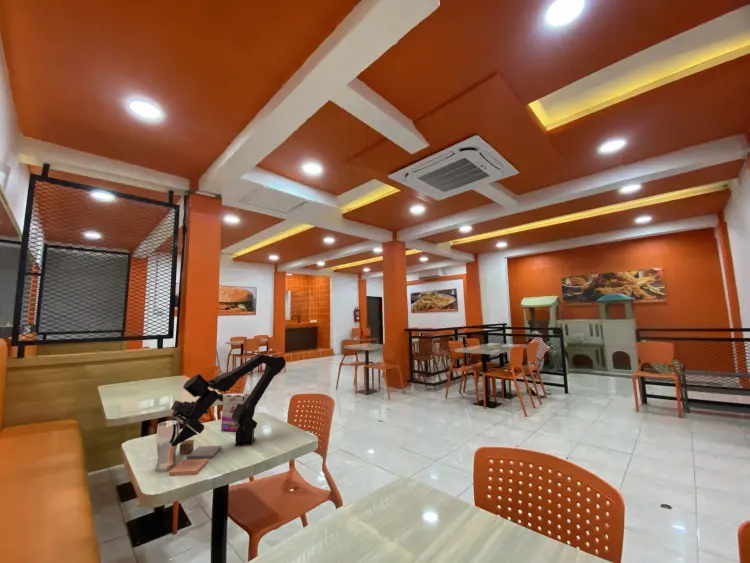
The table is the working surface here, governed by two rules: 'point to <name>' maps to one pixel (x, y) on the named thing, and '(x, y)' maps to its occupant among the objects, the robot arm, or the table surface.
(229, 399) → the candy bar box
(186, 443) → the walnut block
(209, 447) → the slate tile
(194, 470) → the terracotta tile
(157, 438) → the beer glass
